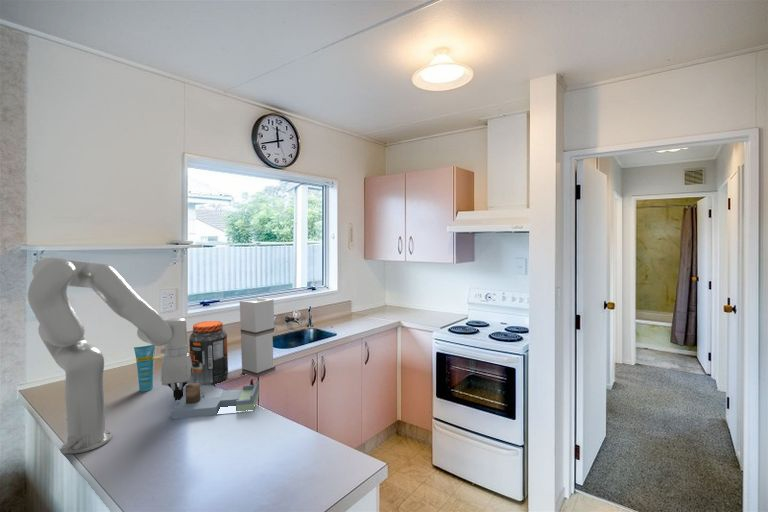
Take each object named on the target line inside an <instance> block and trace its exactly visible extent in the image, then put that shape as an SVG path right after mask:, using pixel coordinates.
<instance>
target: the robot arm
mask: <svg viewBox="0 0 768 512" xmlns="http://www.w3.org/2000/svg"><path fill="white" fill-rule="evenodd" d="M32 276H33V278H32V279H31V282H30V284H29V287H28V290H27V291H28V292H27V302H28V304H29V306H30V308H31V310H32V311H31V312H33V314H34V316H35V317H36V320H37V322H38V323H39V325H38V328H37V329H38V331H37V332H38V335H39V337H40V339H41V341H42V342H43V344H44V346H45V347H46V350H47V351H48V352H49V354H50V355H51V357H52V358H53V360H54V362H55V363H56V364H57V366H58V367H60V368H61V369H63V371H65V383H64V397H65V412H66V427H67V428H66V429H67V439H66V440H65V441H64V442H63V444H62V445H61V448H60V453H61V455H62V454H63V455H66V454H70V455H71V454H72V455H73V454H81V453H85V452H90V451H92V450H95V449H99V448H100V447H102V446H103V445H105V444H107V443H108V442H109V441H110V440H111V439H112V437H113V433H112V431H111V430H109V429H107V428H106V427H107V426H106V409H105V408H106V407H105V394H104V392H105V391H104V370H105V358H104V355H103V353H102V352H101V350H100V349H99V348H97V347H95V346H93V345H92V344H89V343H88V341H87V340H86V338H85V333H86V332H85V331H86V330H85V326H84V324H83V322H82V320H81V319H80V317H79V316H78V314H77V313H76V311H75V309H74V307H73V306H72V303H71V302H70V299H69V298H68V295H67V294H68V293H67V291H68V287H74V288H75V287H76V288H90V289H91V290H92V291H93V292H94V293H95V294H96V295H97V296H98V297H99V298H101V300H102V301H103V302H104V303H105V304H106V305H107V306H108V307H109V308H110V309H111V310H112V312H113V313H115V314H116V315H117V316H119V317H120V318H122V319H124V320H126V321H128V322H129V323H130V324H132V325H133V326H135V328H137V331H136V335H137V337H138V338H139V340H141V341H142V342H144V343H147V344H149V345H154V347H161V346H164V348H163V349H160V354H164V355H163V356H162V357H161V365H160V382H161V385H162V386H167V387H169V388H170V389H171V390H172V392H173V397H172V398H174V402H175V401H181V399H182V398H183V397H184V388H185V387H186V385H188V384H191V383H194V382H193V377H192V376H193V367H192V361H191V357H190V352H188V333H187V321H186V319H185V318H183V317H182V318H181V317H173V318H169V319H164V318H163V317H162V316H161V315H160V314H159V313H158V311H156V310H155V309H154V308H153V307H151V306H150V305H149V304H148V303H147V302H146V301H145V300H144V299H143V298H141V296H139V294H137V293H136V291H135V290H134V289H133V288H132V286H130V285H129V284H128V282H126V280H125V278H123V277H122V275H120V274H119V272H118V271H117V270H116V269H115V268H114V267H112V266H111V265H109V264H105V263H95V262H87V261H85V262H84V261H79V260H78V261H76V260H71V259H66V258H63V257H46V258H42V259H40V260H38V261H36V262H35V264H34V265H33V267H32Z"/></svg>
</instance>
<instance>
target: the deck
mask: <svg viewBox="0 0 768 512" xmlns="http://www.w3.org/2000/svg"><path fill="white" fill-rule="evenodd" d="M200 395H201V400H200V401H199V402H197V403H193V404H188V403H186V393H185V394H184V395H183V397H182V398H181V399H180V400H179V401H178V403H177V404H176V405H175V407H173V409H172V410H171V418H172V420H179V418H180V419H188V418H199V416H202V417H211V416H210V415H212V416H218V415H217V413H218V411H219V409H220V407H228V406H236V411H246V410H247V411H248V410H254V411H255V409H254V407H256V406H254V405H257V403H258V400H259V396H260V383H259V380H256V381H255V383H254V384H249V385H248V384H246V385H243V387H242V389H231V390H230V389H229V390H222V392H221V394H220V395H219V396H211V397H206V395H205V392H200Z"/></svg>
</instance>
